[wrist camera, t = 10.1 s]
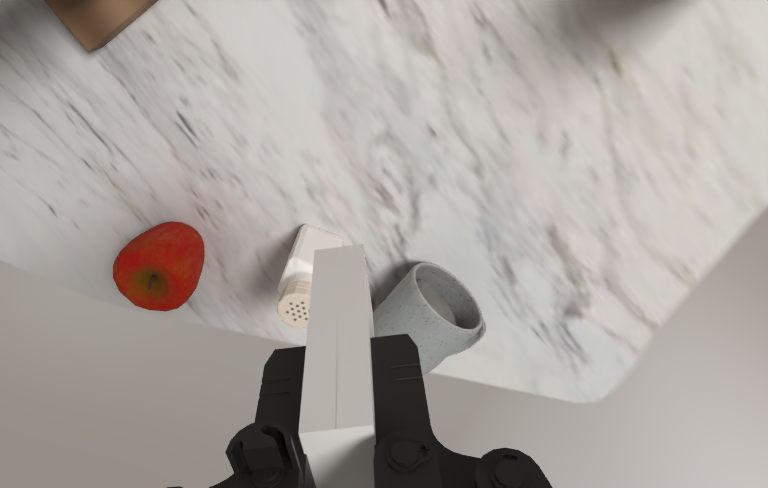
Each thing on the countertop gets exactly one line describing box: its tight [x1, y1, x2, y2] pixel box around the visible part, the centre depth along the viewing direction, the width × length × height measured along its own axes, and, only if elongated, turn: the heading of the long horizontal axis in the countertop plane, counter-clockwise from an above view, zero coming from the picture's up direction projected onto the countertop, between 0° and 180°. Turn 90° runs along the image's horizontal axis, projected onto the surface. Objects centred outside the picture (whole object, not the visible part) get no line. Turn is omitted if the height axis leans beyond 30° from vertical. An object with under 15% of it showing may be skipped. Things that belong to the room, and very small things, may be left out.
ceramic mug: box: [373, 262, 486, 376], centre depth 45 cm, size 11×8×8 cm
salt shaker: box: [277, 224, 343, 328], centre depth 42 cm, size 4×4×10 cm
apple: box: [113, 222, 204, 311], centre depth 43 cm, size 6×6×8 cm
